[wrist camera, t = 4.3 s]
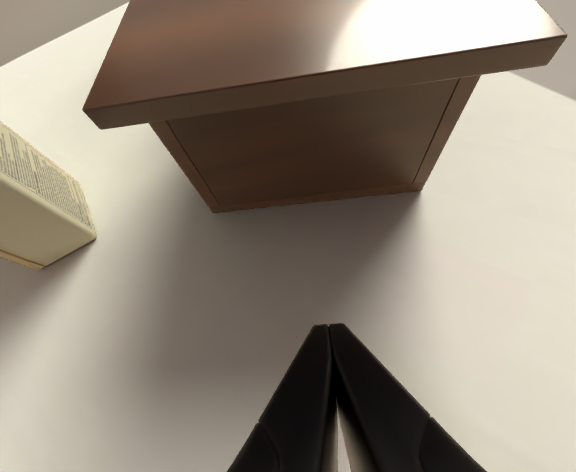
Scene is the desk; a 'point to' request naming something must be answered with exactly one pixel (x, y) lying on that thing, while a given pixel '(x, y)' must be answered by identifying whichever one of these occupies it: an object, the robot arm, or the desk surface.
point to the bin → (318, 145)
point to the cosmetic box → (38, 206)
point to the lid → (303, 51)
